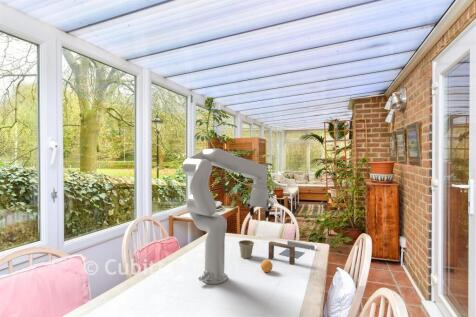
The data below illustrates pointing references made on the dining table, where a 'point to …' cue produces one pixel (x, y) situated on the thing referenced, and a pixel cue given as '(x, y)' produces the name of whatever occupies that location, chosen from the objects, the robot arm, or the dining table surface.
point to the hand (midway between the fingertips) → (259, 216)
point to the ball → (266, 266)
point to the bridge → (290, 247)
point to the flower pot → (246, 248)
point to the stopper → (301, 245)
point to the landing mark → (286, 253)
